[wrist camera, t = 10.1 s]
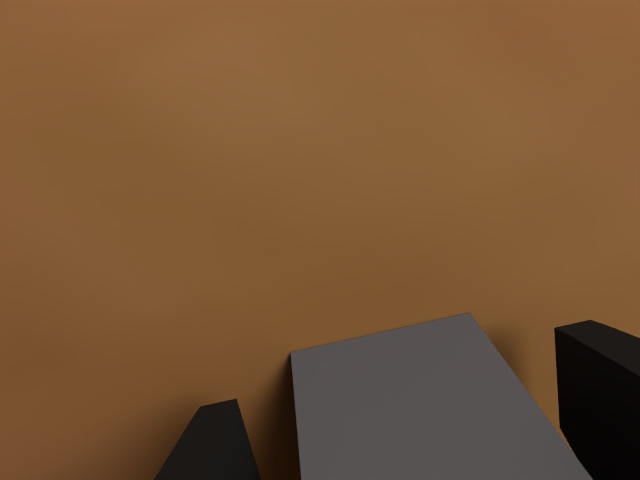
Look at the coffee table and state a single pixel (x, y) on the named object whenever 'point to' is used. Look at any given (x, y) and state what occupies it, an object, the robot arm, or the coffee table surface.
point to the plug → (422, 410)
